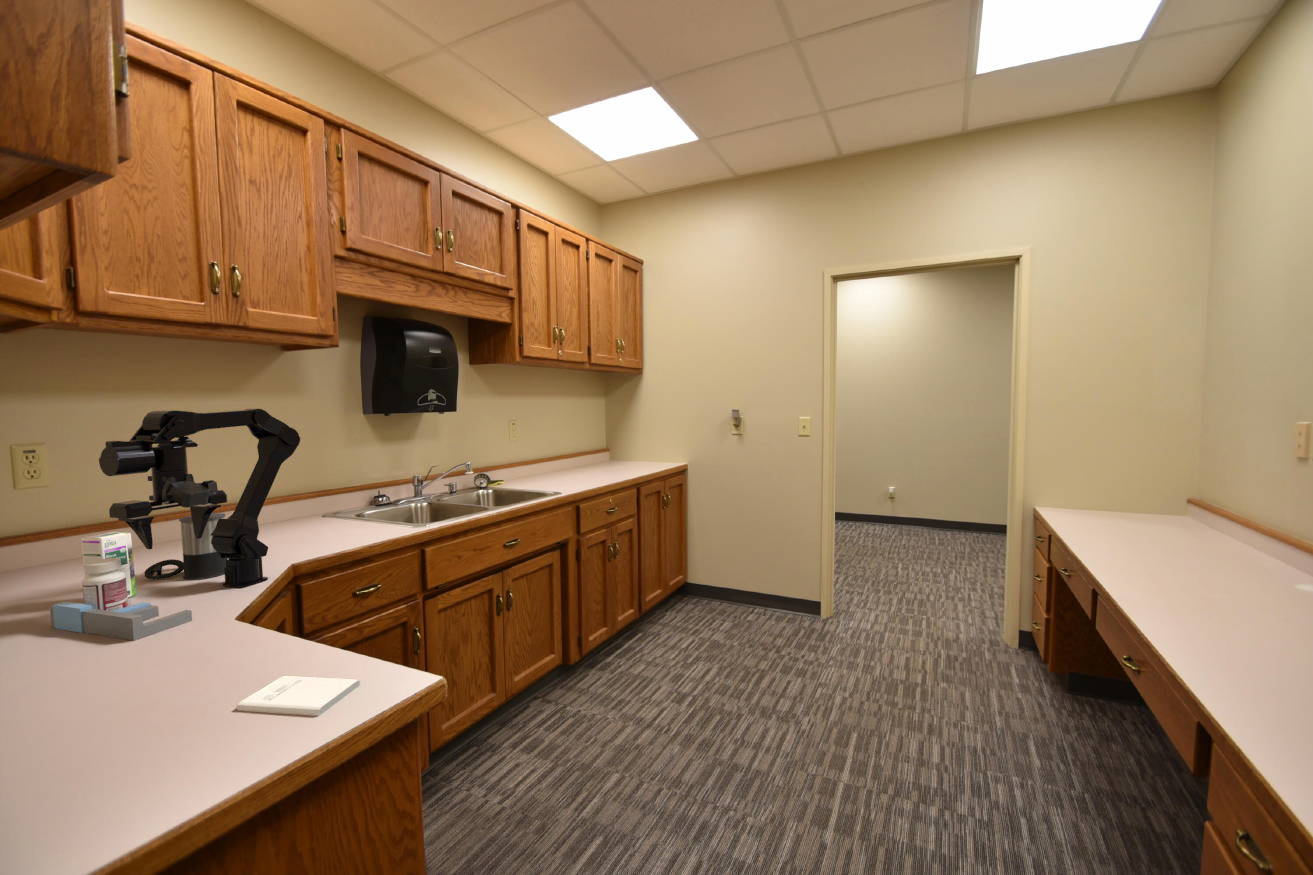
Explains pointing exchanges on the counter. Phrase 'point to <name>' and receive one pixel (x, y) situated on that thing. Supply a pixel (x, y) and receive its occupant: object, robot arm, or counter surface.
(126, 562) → the syrup box
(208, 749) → the counter surface
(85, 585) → the pill bottle
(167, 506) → the robot arm
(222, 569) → the milk frother
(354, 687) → the external hard drive
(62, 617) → the divider rack
